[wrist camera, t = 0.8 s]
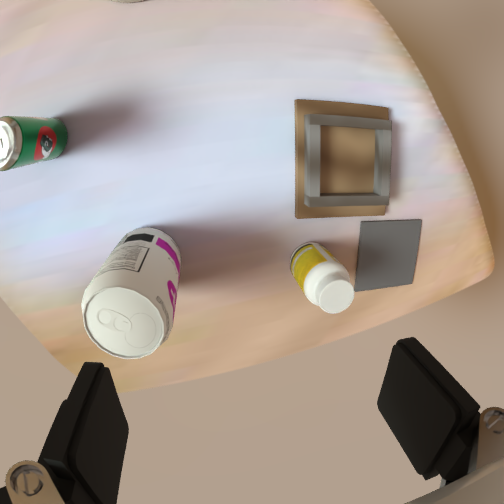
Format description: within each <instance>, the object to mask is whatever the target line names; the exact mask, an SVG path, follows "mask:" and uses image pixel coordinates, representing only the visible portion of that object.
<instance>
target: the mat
mask: <svg viewBox="0 0 504 504" xmlns="http://www.w3.org/2000/svg"><path fill="white" fill-rule="evenodd" d="M421 222H422V220H420V219H416V220H387V221H361V227H360V240H359V251H358V261H357V270H356V279H355V288H354V291H355V292H357V291H365V290H372V289H380V288H387V287H394V286H401V285H408V284H412V281H413V275H414V270H415V264H416V258H417V251H418V245H419V237H420V230H421Z"/></svg>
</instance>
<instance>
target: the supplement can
mask: <svg viewBox="0 0 504 504" xmlns="http://www.w3.org/2000/svg"><path fill="white" fill-rule="evenodd" d="M180 270H181V255H180V252H179V249H178V246H177V245H176V243H175V242H174V241H173V240H172V238H171V237H170V236H169V235H167V234H165V233H164V232H162V231H161V230H158V229H154V228H149V227H146V228H138V229H135V230H133V231H131V232H129V233H127V234H126V235H125V236H124V237H123V238H122V240H121V241H120V242H119V243H118V245H117V246H116V247H115V249H114V250H113V251H112V253H111V254H110V255H109V257H108V258H107V260H106V261H105V262H104V264H103V265H102V267H101V268H100V270H99V271H98V272H97V274H96V275H95V277H94V278H93V280H92V281H91V283H90V284H89V285H88V287H87V288H86V290H85V292H84V296H83V300H82V304H81V306H82V313H83V321H84V327H85V330H86V331H87V333H88V335H89V337H90V339H91V340H92V341H93V342H94V343H95V344H96V345H97V346H98V347H99V348H100V349H101V350H103V351H105V352H107V353H108V354H110V355H112V356H115V357H119V358H123V359H139V358H142V357H144V356H147V355H150V354H151V353H152V352H153V351H155V350H156V349H157V348H158V347H159V346H160V345H161V344H162V343H163V342H165V341H166V340H167V338H168V336H169V334H170V331H171V329H172V327H173V320H174V312H175V305H176V298H177V291H178V284H179V277H180Z"/></svg>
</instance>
